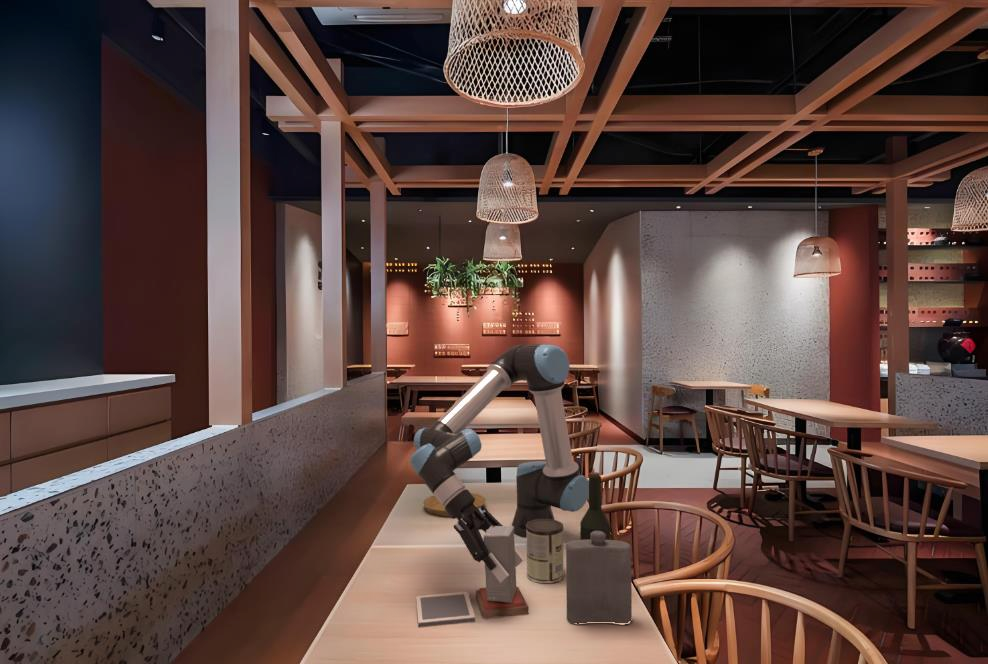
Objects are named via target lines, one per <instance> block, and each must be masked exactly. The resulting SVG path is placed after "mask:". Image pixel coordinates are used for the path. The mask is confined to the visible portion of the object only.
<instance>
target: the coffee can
mask: <svg viewBox="0 0 988 664" xmlns="http://www.w3.org/2000/svg"><path fill="white" fill-rule="evenodd" d="M563 533H564V524H563V523H562V521H561V522H560V520H556V519H555V520H552V519H535V520H531V521H529V522H527V523H526V537H525V538H526V577H527V579H529V580H530V581H531V580H532V582H533V581H535V582H534V583H537V582H538V583H537V584H543V583H550V584H555V583H554V582H556V583H558V582H557V581H559V582H560V580H561V579H562V578H563V579H564V577H565V576H564V575H563V574H564V534H563ZM563 576H564V577H563ZM563 579H562V580H563ZM562 580H561V581H562Z"/></svg>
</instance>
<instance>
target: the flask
mask: <svg viewBox="0 0 988 664" xmlns="http://www.w3.org/2000/svg"><path fill="white" fill-rule="evenodd" d="M565 557H566V558H565V559H566V560H565V561H566V562H565V563H566V564H565V565H566V566H565V568H566V569H565V573H566V575H565V579H566V580H565V581H566V589H565V590H566V620H567V621H568V622H569V621H570V622H572V623H577V624H579V623H587V622H615V623H628V622H629V621H631V619H632V620H633V618H632V617H633V616H632V613H633V612H632V610H633V609H632V605H633V604H632V545H630V544H629V542H626V541H623V540H617V539H615V540H614V539H611V540H606V534H605V533H604V532H602V531H593V532H591V533H590V540H581V539H576V540H570V541H568V542H567V543H566V544H565ZM570 622H569V623H570ZM572 623H571V624H572Z"/></svg>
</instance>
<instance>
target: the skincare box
mask: <svg viewBox="0 0 988 664" xmlns="http://www.w3.org/2000/svg"><path fill="white" fill-rule="evenodd" d="M483 541H484V544H485V545H486V548H487V550H488V553H489V554H490V553H492V554H493V555H494V556H495V558H496V559H497V560H498V561H499V563H500V564H501V565H502V567H503V568H504V569H505V570H506V572H507V573H508V574H509V575H508V576H507V577H506V578H505V579H504V580H503V581H502V582H501V583H500V582H499V581H498V579H497V578H496V577H495V575H494V574H493V573H492V571H491V570H490V569H489V568H488V567H487V566H486V564H485V563H484V573H485V575H484V576H485V588H486V600H487V601H500V602H509V603H512V600H513V598H514V595H515V592H516V588H517V587H518V586H517V573H516V572H517V571H516V570H517V567H516V566H515V549H516V546H515V533H514V526H512V525H510V526H509V525H502V526H490V527H489V529H487V530H486V533H485V532H484V534H483ZM489 554H488V555H489Z"/></svg>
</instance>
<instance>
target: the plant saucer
mask: <svg viewBox="0 0 988 664" xmlns="http://www.w3.org/2000/svg"><path fill="white" fill-rule="evenodd" d="M470 493H471V494H472V496H473V497H474V498H475V501H474V505H475V506H476V507H477V508H480V507H481V506H482V505H484V506H485V504H486V501H487V500H486V498H485V497H484V496H483V495H481V494H477V493H473V492H470ZM422 505H423V506H424V508H425V509H426V510H427V512H429V513H431V514H433V515H435V514H436V515H437V516H439V515H441V516H440V517H449V516H450V515H449V514H448V513H447V511H446V510H445V506H442V505H441V503H440V502H439V501H438V500H437V498H436V497H435V495H434V494H433V495H431V496H429V497H427V498H425V499H424V500H423V504H422Z"/></svg>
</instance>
